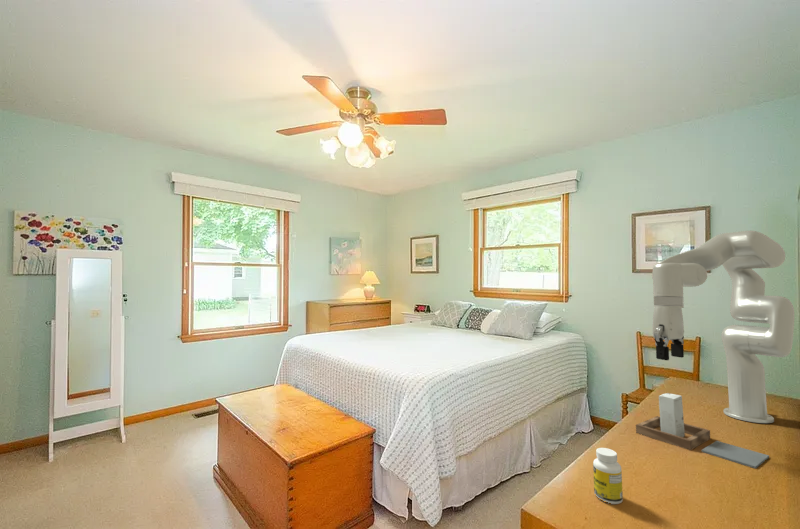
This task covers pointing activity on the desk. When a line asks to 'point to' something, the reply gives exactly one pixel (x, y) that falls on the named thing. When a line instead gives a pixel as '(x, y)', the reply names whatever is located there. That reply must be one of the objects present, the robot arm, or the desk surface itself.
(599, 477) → the supplement bottle
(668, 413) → the skincare box
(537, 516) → the desk surface
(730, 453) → the pad
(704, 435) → the brown wooden frame
